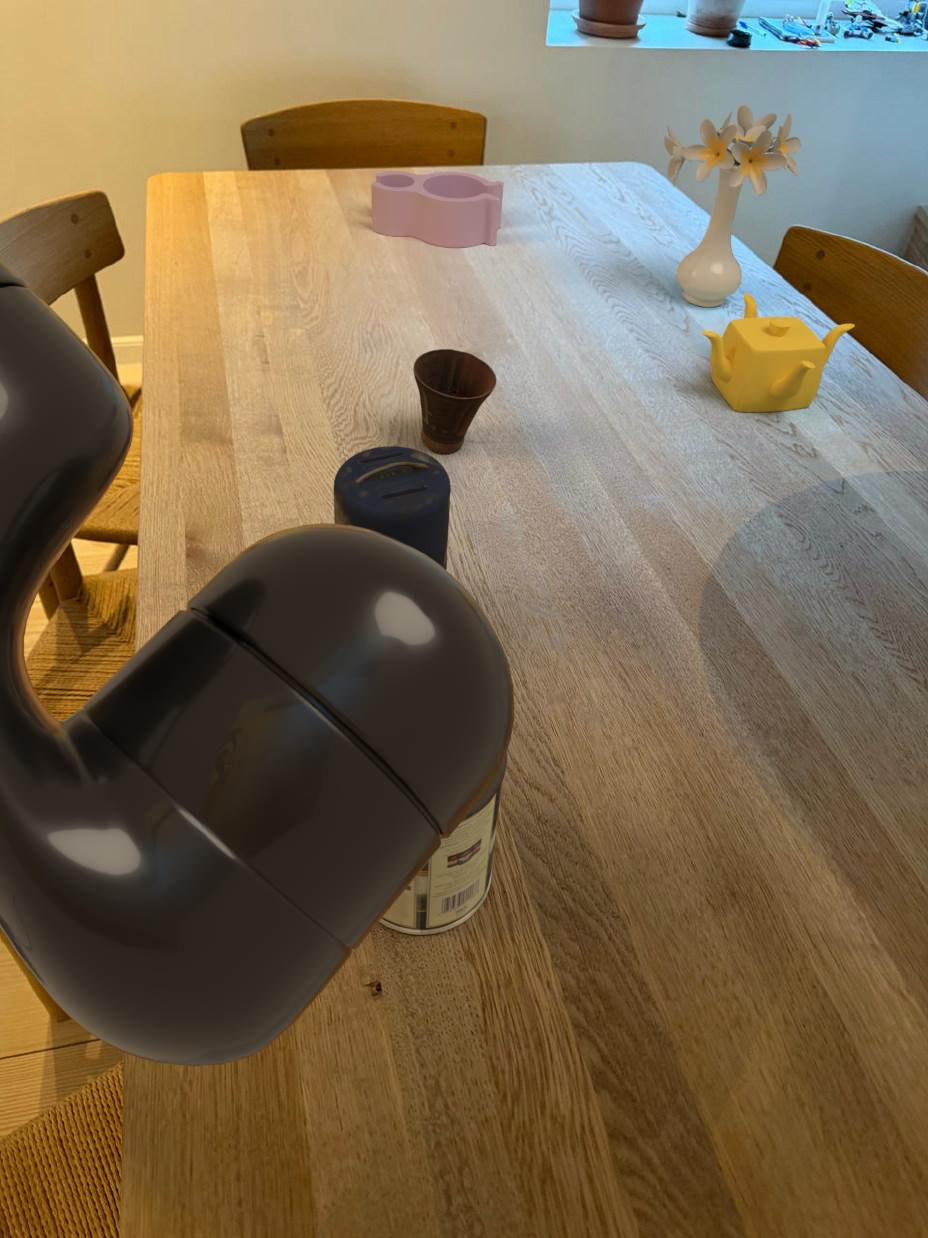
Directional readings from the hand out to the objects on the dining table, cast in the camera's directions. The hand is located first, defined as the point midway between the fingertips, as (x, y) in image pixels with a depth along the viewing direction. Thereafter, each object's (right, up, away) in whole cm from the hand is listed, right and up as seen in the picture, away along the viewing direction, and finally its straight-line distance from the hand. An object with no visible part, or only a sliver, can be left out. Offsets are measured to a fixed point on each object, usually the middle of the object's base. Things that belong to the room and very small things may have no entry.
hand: (236, 780), depth 51 cm
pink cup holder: (+8, +71, +101) cm, 124 cm away
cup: (+11, +28, +58) cm, 65 cm away
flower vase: (+47, +55, +88) cm, 114 cm away
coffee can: (+9, -10, +18) cm, 23 cm away
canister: (+6, +8, +37) cm, 38 cm away
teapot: (+50, +37, +70) cm, 94 cm away
